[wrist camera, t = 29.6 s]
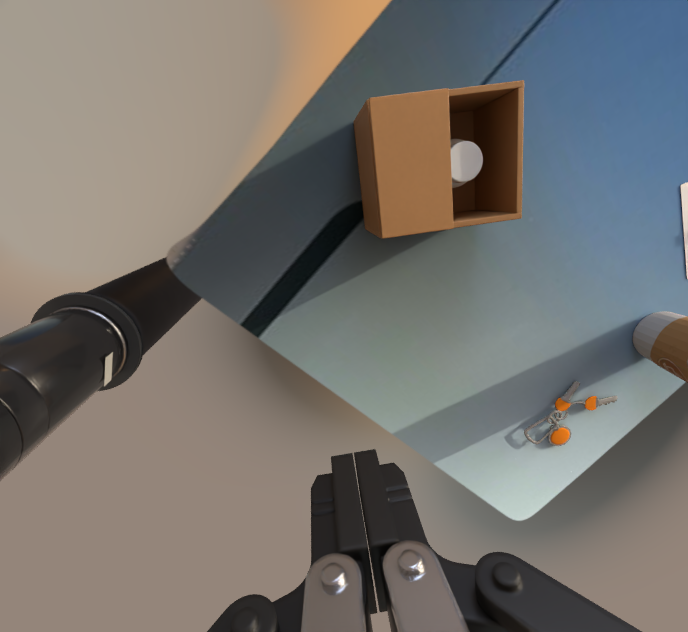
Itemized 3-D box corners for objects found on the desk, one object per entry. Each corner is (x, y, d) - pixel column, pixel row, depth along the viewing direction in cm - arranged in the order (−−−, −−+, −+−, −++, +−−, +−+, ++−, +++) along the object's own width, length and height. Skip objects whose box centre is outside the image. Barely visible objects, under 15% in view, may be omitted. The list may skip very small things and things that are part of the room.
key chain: (545, 457, 55) (548, 460, 54) (516, 427, 53) (519, 430, 52) (618, 399, 53) (623, 402, 52) (591, 366, 51) (595, 368, 50)
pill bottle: (463, 173, 41) (497, 168, 34) (429, 197, 42) (455, 197, 35) (444, 136, 40) (474, 123, 33) (409, 161, 41) (431, 154, 33)
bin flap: (381, 238, 33) (382, 238, 33) (368, 99, 30) (369, 97, 30) (452, 228, 34) (453, 228, 33) (446, 89, 30) (448, 88, 30)
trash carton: (365, 229, 43) (379, 238, 34) (353, 121, 39) (366, 99, 30) (477, 213, 43) (521, 218, 34) (475, 105, 40) (524, 80, 31)
